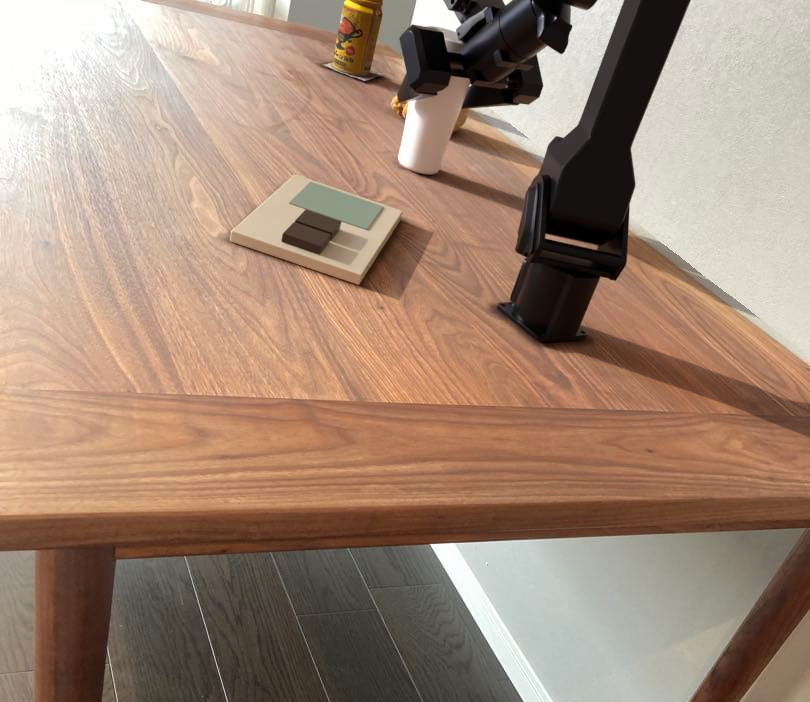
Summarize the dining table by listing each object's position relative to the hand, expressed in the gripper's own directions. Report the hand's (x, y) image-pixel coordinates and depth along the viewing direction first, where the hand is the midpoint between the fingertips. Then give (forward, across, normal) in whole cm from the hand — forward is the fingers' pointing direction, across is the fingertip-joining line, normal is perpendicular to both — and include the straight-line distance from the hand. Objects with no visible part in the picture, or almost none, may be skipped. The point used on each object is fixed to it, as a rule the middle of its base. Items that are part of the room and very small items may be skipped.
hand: (428, 102), depth 109 cm
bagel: (+17, -14, -6) cm, 23 cm away
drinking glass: (+4, 0, +6) cm, 8 cm away
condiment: (+32, -16, -22) cm, 42 cm away
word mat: (-8, +25, +18) cm, 32 cm away
